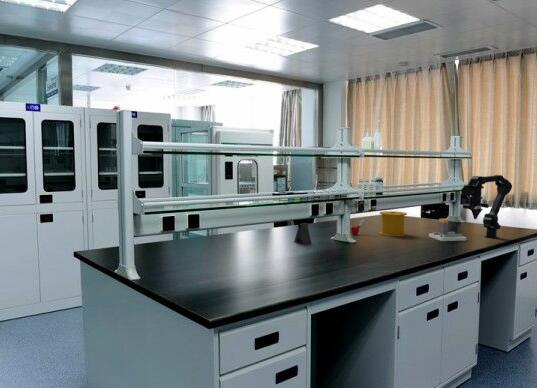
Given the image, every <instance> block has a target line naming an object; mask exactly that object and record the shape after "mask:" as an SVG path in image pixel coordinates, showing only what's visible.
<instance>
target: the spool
mask: <svg viewBox="0 0 537 388" xmlns="http://www.w3.org/2000/svg"><path fill="white" fill-rule="evenodd" d="M407 213H408V212H403V211H392V210H391V211H385V210H384V211H380V212H379V214H380V215H381V230H380V231H379V232H378V234H379V235H382V236H388V237H405V236H407V233H406V232H405V216H407V215H408V214H407Z"/></svg>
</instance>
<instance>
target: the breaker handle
mask: <svg viewBox="0 0 537 388" xmlns="http://www.w3.org/2000/svg"><path fill="white" fill-rule="evenodd" d="M438 221H439V223H438V224H439V226H438V232H439V233H438V235H440V234H448V232H449V229H448V228H449V219H447V218H439V219H438Z"/></svg>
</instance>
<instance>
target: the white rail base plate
mask: <svg viewBox="0 0 537 388" xmlns="http://www.w3.org/2000/svg"><path fill="white" fill-rule="evenodd" d="M438 233H439V231H432V233H429V234H428V237H429V238H433V239H435V240H437V241H441V242H457V241H459V242H462V241H463V242H464V241H467V240H468V239H467V237H466V236H463V234H462V233H456V231H448V234H440V235H438Z"/></svg>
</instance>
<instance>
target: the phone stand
mask: <svg viewBox="0 0 537 388" xmlns="http://www.w3.org/2000/svg"><path fill="white" fill-rule="evenodd" d="M293 242H294V243H295V242H296V244H300V243H301V245H309V244H312V238H311V235H310V231H309V224H308V223H307V222H303V223H298V224H297V231H296V234H295V237H294V241H293ZM308 243H309V244H308Z"/></svg>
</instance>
